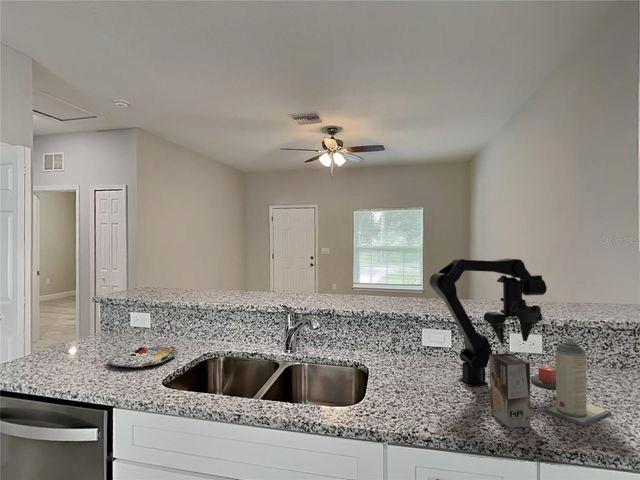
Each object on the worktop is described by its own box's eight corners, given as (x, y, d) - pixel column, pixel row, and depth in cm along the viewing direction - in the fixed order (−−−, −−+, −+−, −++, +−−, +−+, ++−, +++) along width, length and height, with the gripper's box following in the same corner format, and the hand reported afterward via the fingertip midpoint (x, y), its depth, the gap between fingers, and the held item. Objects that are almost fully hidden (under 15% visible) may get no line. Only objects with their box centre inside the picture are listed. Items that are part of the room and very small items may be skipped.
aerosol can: (568, 404, 105) (567, 333, 105) (592, 415, 99) (591, 339, 99) (550, 408, 103) (549, 336, 103) (574, 419, 96) (573, 342, 97)
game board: (570, 400, 110) (570, 397, 110) (610, 413, 101) (610, 410, 101) (544, 411, 103) (544, 408, 103) (584, 426, 94) (584, 423, 94)
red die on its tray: (557, 392, 116) (556, 375, 116) (524, 382, 124) (524, 366, 124) (572, 385, 121) (571, 369, 121) (540, 376, 130) (540, 361, 130)
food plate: (140, 349, 166) (140, 342, 166) (187, 353, 161) (187, 345, 161) (96, 370, 141) (96, 361, 141) (150, 374, 137) (150, 365, 137)
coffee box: (532, 427, 94) (531, 363, 94) (508, 428, 94) (507, 364, 94) (510, 410, 103) (510, 352, 103) (488, 412, 103) (488, 353, 103)
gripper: (505, 300, 116) (506, 350, 116) (555, 298, 120) (556, 346, 120) (482, 295, 127) (483, 341, 127) (528, 293, 131) (529, 338, 131)
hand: (513, 342), depth 126 cm, fingers open, 9 cm apart
